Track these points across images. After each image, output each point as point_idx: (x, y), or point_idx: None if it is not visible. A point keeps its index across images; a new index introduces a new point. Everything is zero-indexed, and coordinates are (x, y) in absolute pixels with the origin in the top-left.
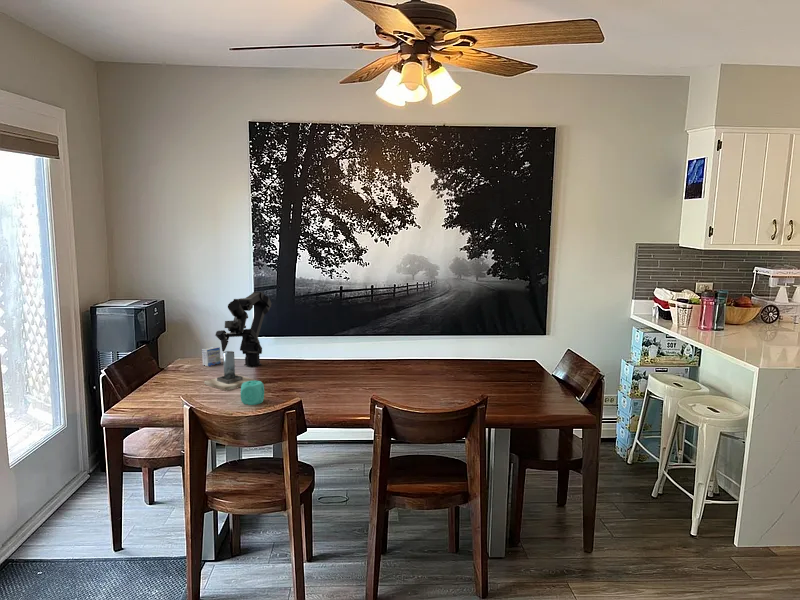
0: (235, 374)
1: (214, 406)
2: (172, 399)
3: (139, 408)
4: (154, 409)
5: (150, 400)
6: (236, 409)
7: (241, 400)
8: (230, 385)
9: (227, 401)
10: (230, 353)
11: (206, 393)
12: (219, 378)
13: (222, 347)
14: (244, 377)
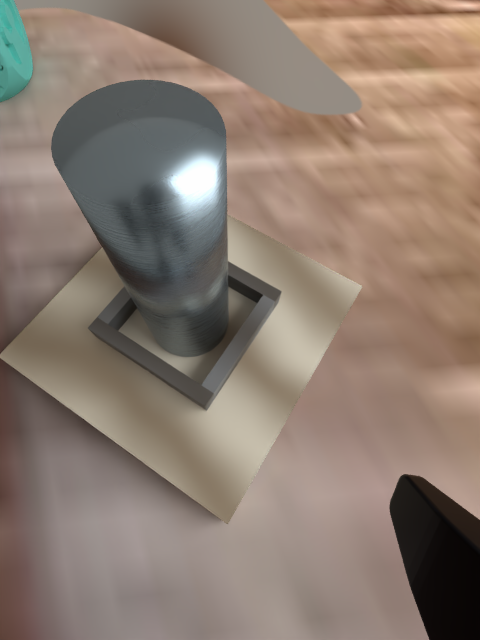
0: (206, 498)
1: (143, 35)
2: (364, 86)
3: (416, 12)
4: (355, 7)
5: (448, 73)
6: (45, 16)
7: (24, 31)
8: None
9: (107, 77)
10: (91, 93)
11: (253, 158)
12: (253, 275)
13: (467, 522)
14: (98, 407)
